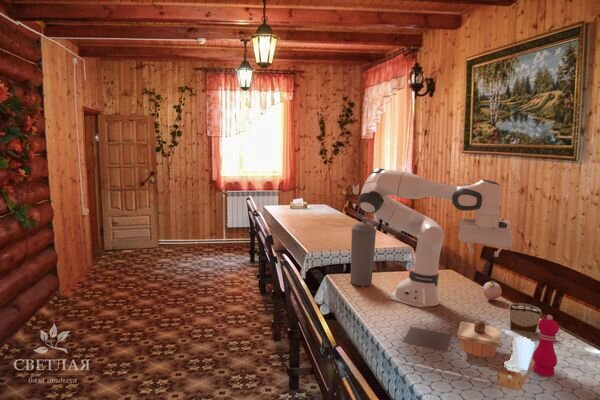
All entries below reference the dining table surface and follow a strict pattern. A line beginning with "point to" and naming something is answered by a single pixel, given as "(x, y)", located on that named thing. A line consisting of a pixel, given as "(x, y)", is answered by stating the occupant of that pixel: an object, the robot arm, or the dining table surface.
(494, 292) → the decorative fruit
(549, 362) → the pepper mill
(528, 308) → the food container
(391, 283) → the dining table surface
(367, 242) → the canister
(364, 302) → the dining table surface
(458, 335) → the lid
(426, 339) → the mat
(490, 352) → the bowl
